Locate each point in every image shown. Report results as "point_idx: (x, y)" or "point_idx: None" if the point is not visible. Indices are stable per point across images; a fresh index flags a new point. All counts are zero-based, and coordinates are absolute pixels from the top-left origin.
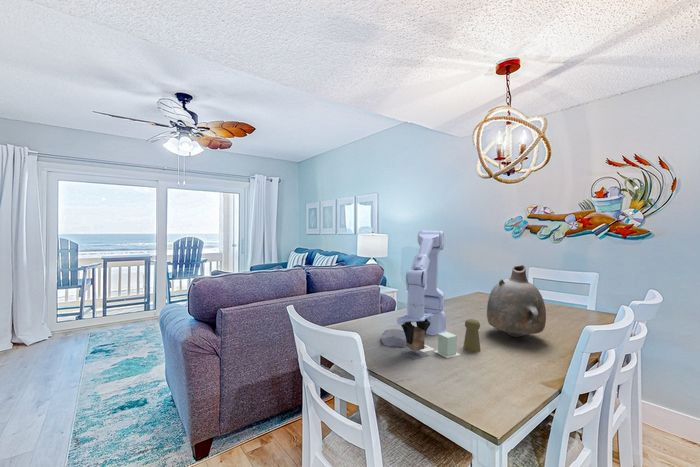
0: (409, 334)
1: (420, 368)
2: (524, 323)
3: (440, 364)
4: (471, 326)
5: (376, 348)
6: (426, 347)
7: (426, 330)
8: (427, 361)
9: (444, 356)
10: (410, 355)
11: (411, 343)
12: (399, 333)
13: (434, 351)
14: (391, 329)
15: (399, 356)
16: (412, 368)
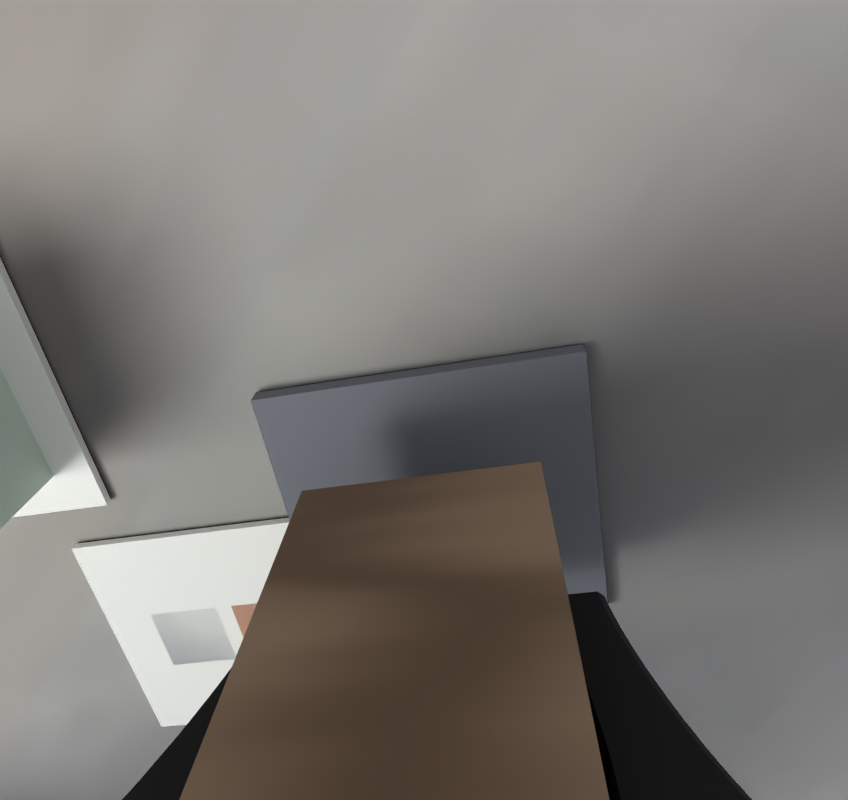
0: (727, 794)
1: (672, 7)
2: None
3: (209, 54)
4: None
5: (831, 767)
6: (166, 622)
7: None
8: (380, 236)
9: (10, 299)
10: (555, 468)
11: (576, 600)
12: None
13: (103, 493)
14: None
15: (705, 509)
16: (815, 55)
